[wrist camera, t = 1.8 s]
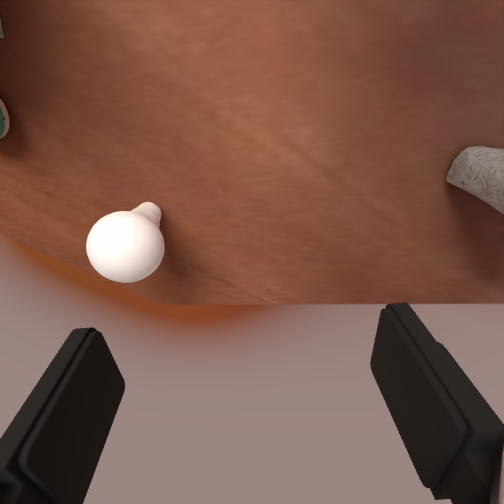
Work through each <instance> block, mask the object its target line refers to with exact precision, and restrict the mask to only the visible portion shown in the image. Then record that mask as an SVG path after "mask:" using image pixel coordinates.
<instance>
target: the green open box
mask: <svg viewBox="0 0 504 504" xmlns="http://www.w3.org/2000/svg"><path fill="white" fill-rule="evenodd" d="M0 38H4V35H3V29H2V24H1V19H0Z"/></svg>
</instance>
